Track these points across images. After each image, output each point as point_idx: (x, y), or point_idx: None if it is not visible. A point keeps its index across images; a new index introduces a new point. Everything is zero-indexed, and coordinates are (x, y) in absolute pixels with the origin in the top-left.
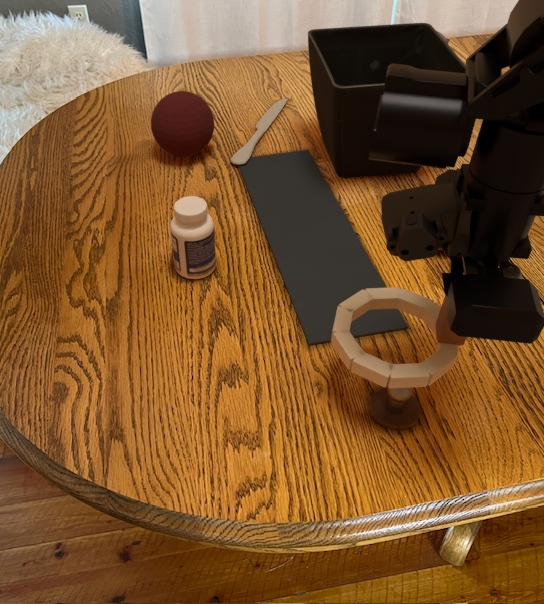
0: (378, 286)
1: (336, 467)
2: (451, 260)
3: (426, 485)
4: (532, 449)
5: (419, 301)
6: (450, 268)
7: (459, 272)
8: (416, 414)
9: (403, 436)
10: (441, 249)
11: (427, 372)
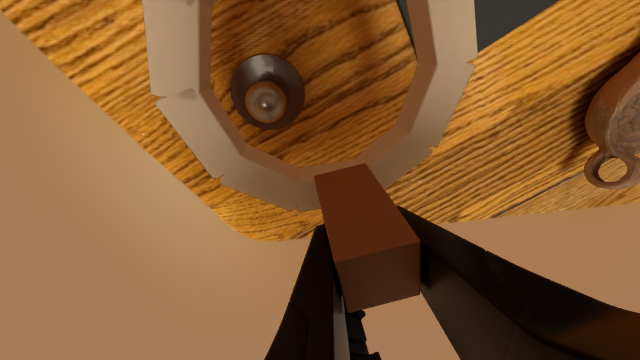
0: (519, 11)
1: (116, 26)
2: (533, 335)
3: (175, 154)
4: (282, 236)
5: (430, 118)
6: (492, 286)
7: (470, 305)
8: (267, 126)
9: (231, 114)
10: (592, 104)
11: (221, 173)
